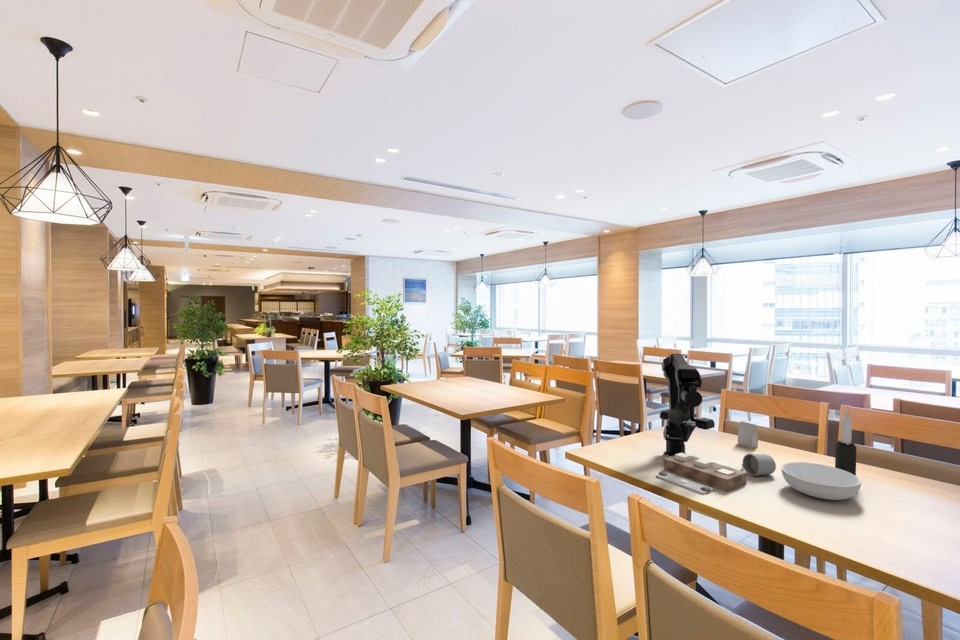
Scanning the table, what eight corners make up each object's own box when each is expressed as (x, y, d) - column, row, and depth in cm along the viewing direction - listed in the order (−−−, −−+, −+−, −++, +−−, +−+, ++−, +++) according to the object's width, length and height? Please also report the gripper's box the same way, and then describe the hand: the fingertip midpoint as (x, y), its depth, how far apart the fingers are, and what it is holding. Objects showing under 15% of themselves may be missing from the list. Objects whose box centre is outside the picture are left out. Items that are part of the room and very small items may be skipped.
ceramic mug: (777, 477, 160) (777, 455, 160) (758, 479, 158) (758, 457, 158) (753, 467, 171) (753, 447, 170) (735, 468, 169) (735, 448, 169)
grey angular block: (752, 448, 193) (752, 425, 193) (737, 443, 199) (738, 421, 199) (757, 446, 194) (758, 424, 194) (743, 442, 201) (743, 420, 200)
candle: (851, 478, 159) (853, 409, 158) (856, 483, 154) (858, 412, 153) (833, 476, 161) (835, 407, 160) (838, 481, 156) (840, 410, 155)
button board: (663, 469, 168) (663, 458, 168) (682, 463, 174) (682, 453, 174) (727, 491, 148) (727, 479, 148) (746, 483, 154) (746, 472, 154)
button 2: (716, 479, 155) (716, 470, 155) (722, 476, 157) (722, 468, 157) (728, 483, 151) (728, 474, 151) (734, 480, 154) (734, 472, 154)
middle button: (694, 468, 162) (694, 460, 161) (701, 466, 164) (701, 458, 164) (705, 472, 158) (705, 463, 158) (711, 470, 160) (711, 461, 160)
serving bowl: (766, 487, 152) (767, 467, 151) (805, 477, 160) (805, 458, 160) (835, 513, 133) (836, 490, 132) (875, 500, 141) (876, 479, 141)
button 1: (674, 462, 168) (675, 454, 168) (681, 460, 170) (681, 452, 170) (684, 465, 165) (684, 457, 165) (691, 463, 167) (691, 455, 167)
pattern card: (654, 476, 161) (654, 474, 161) (664, 472, 164) (664, 470, 164) (704, 495, 145) (704, 492, 145) (715, 490, 148) (715, 488, 148)
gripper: (651, 398, 169) (650, 439, 170) (698, 408, 154) (697, 453, 155) (668, 395, 176) (668, 434, 176) (715, 404, 160) (714, 447, 161)
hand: (685, 441), depth 167 cm, fingers closed
